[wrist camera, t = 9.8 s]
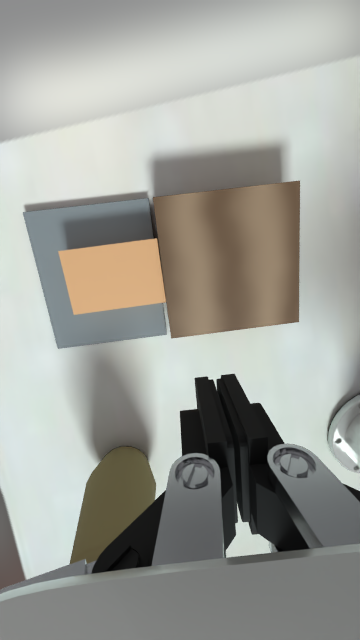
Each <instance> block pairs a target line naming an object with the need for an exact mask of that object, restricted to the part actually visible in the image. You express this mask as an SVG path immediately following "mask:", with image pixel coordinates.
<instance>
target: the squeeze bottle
mask: <svg viewBox="0 0 360 640" xmlns="http://www.w3.org/2000/svg"><path fill="white" fill-rule="evenodd" d="M155 493H156V482H155V479H154V477H153V474H152V471H151V468H150V465H149V462H148V460H147V458H146V456H145V455H144V454H143V453H142V452H141V451H140V450H138V449H136V448H133V447H119V448H116V449H113V450H112V451H110V452H109V453H108V454H106V456H105V457H104V458H103V459H102V461H101V462H100V463H99V465H98V466H97V467H96V468H95V470H94V471H93V472H92V474H91V476H90V477H89V479H88V481H87V483H86V488H85V493H84V498H83V503H82V507H81V512H80V517H79V522H78V526H77V531H76V536H75V541H74V546H73V550H72V555H71V560H70V564H72V563H75V562H78V561H81V560H84V559H86V563H87V564H88V563H91V562H93V561H96V560H97V559H98V557H99V555H100V554H101V553H102V552H103V551H104V549H105V548H106V547H107V546H108V545H109V544H110V543H111V542H112V541H113V540H114V539H115V538H116V537H118V536H119V535H120V534H121V533H122V532H123V531H124V530H125V529H126V528H127V527H128V526H129V525H130V524H131V523H132V522H133V521H134V520H135V519H136V518H137V517H138V516H139V515H140V514H141V513H143V512H144V511H145V510H146V509H147V508H148V507H149V506H150V505H151V504H152V503H153V502H154V501H155Z"/></svg>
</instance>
